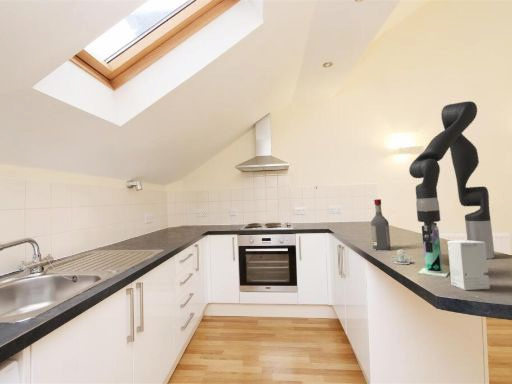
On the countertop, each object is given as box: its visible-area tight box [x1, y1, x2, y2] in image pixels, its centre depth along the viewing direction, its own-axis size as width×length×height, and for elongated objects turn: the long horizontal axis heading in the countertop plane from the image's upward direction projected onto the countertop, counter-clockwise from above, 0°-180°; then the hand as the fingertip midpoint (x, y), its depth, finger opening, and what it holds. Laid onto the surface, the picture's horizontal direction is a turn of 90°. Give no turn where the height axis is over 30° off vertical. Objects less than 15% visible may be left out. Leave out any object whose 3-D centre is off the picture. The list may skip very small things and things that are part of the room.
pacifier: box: [392, 249, 411, 265], centre depth 117 cm, size 7×6×6 cm
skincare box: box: [446, 240, 491, 291], centre depth 83 cm, size 8×6×15 cm
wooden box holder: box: [441, 252, 450, 271], centre depth 106 cm, size 10×10×5 cm
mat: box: [417, 267, 450, 278], centre depth 100 cm, size 9×9×1 cm
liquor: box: [370, 198, 392, 251], centre depth 153 cm, size 9×9×30 cm
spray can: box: [422, 223, 443, 273], centre depth 100 cm, size 6×6×20 cm
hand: (431, 250), depth 100 cm, fingers open, 8 cm apart
